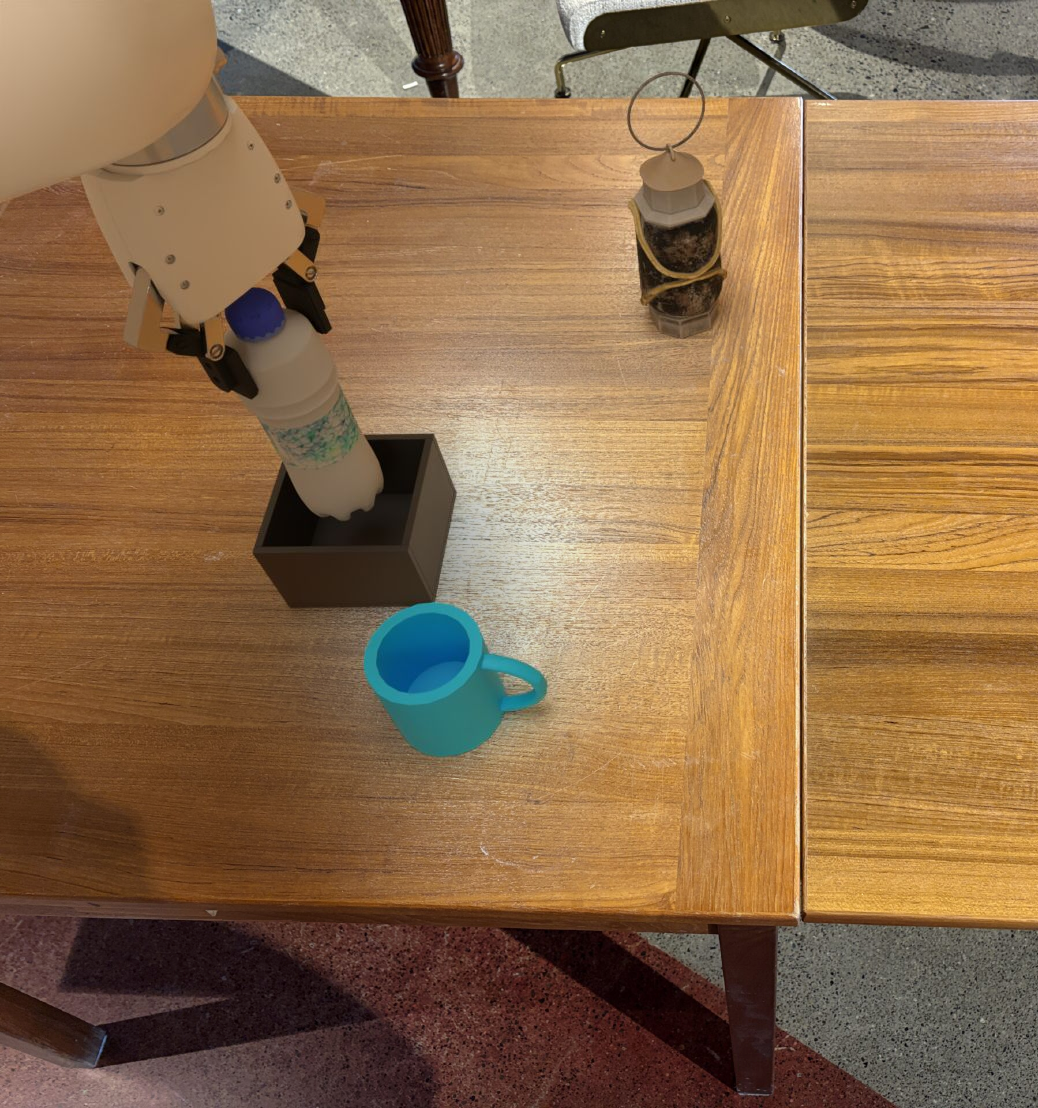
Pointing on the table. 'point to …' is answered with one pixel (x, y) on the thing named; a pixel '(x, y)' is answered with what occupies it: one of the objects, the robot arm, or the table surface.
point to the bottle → (303, 406)
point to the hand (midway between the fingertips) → (276, 355)
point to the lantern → (677, 237)
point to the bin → (364, 534)
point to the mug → (443, 679)
